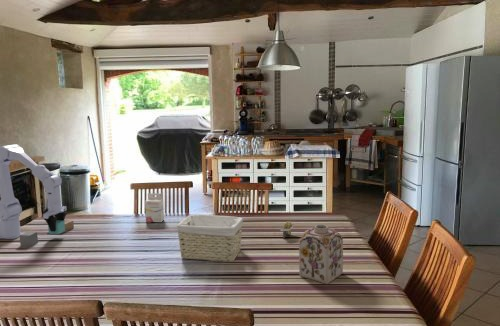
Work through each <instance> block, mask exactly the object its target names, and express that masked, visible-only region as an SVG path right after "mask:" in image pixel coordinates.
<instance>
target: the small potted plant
mask: <svg viewBox="0 0 500 326" xmlns="http://www.w3.org/2000/svg"><path fill="white" fill-rule="evenodd" d="M293 227H294V224H292V221H286V222H285V224H283V226H282V227H281V228H280V231H281V232H282V239H283V240H284V239H285V238H286V237H287V236H292V228H293Z"/></svg>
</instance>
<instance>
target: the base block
mask: <svg viewBox="0 0 500 326" xmlns="http://www.w3.org/2000/svg"><path fill="white" fill-rule="evenodd" d="M64 223H65V231H64V232H62V233H61V234H63V233H65V232H68V231H70V230H73V229H74V227H75V225H74V220H71V219H70V220H67V219H64Z"/></svg>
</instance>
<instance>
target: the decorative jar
mask: <svg viewBox="0 0 500 326" xmlns="http://www.w3.org/2000/svg"><path fill="white" fill-rule="evenodd" d="M298 252H299V253H298V255H299V257H298V260H299V263H298V264H299V266H298V267H299V268H298V269H299V271H298V272H299V277H301V278H304V279H309V280H311V281H316V282H319V283H322V284H325V285H328V284H330V283H331V282H332V281H334V280H336V279H337V278H338V277H340V276H341V275H342V274H343V273H344V270H343V268H344V237H342V235H341V234H340V233H339V232H338V231H336V229H333V228H329V226H328V225H326V224H316V225H315V226H314V227H311V228H308V229H306V230H304V232H303V234H302V235H301V237H300V239H299V249H298Z"/></svg>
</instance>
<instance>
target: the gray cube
mask: <svg viewBox="0 0 500 326" xmlns="http://www.w3.org/2000/svg"><path fill="white" fill-rule="evenodd" d="M22 233H23V234H21V235H20V236H19V243H20V244H19V245H20V246H21V247H33V246H34V245H36V244H38V243H39V238H38V232H37V231H25V232H22Z"/></svg>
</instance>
